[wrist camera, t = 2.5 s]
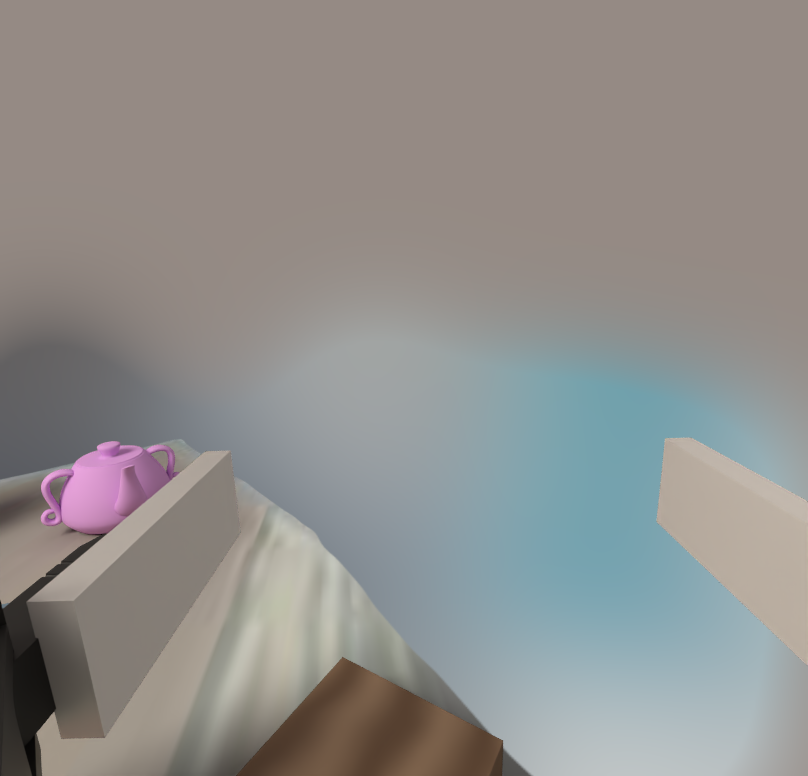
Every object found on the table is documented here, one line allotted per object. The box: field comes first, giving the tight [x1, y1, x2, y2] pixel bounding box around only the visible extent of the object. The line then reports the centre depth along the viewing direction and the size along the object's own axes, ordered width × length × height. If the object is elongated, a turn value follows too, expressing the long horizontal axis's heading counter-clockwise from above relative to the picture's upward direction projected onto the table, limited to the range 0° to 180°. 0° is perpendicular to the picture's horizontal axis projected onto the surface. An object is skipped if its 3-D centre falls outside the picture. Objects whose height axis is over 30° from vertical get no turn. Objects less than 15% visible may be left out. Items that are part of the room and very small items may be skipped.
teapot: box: [41, 441, 179, 534], centre depth 78 cm, size 22×22×14 cm
